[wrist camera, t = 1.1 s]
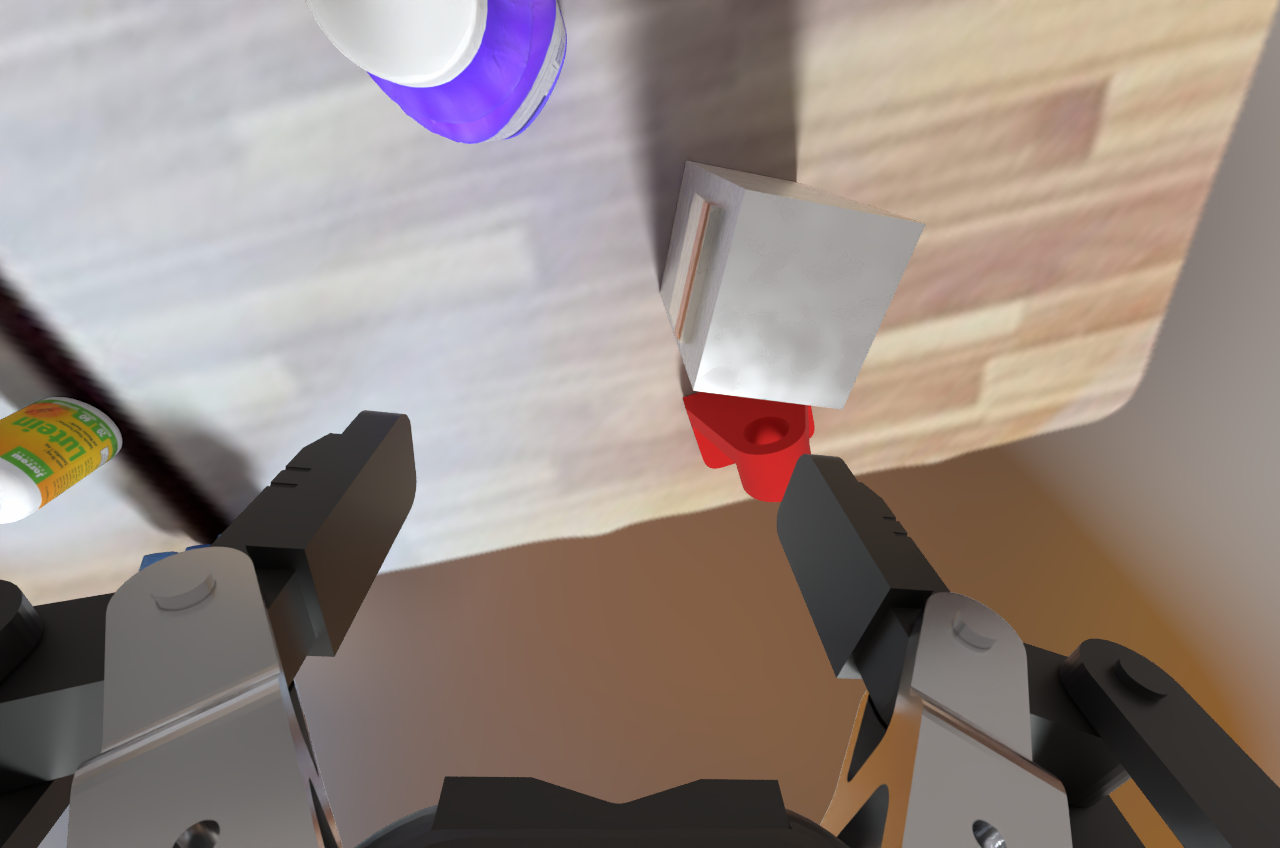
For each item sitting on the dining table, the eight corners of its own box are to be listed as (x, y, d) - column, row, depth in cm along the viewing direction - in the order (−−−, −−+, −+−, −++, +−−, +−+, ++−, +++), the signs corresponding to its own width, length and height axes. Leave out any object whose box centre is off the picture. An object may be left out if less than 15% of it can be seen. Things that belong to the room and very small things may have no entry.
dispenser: (652, 291, 33) (682, 389, 21) (677, 158, 29) (731, 186, 17) (763, 308, 34) (850, 410, 22) (803, 183, 30) (935, 225, 18)
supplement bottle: (138, 427, 36) (0, 520, 27) (109, 469, 37) (-30, 569, 29) (50, 379, 33) (-131, 465, 25) (23, 427, 35) (-155, 522, 27)
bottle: (490, -62, 23) (302, -368, 9) (589, 30, 25) (574, -90, 11) (424, 85, 26) (199, 43, 11) (518, 158, 28) (429, 200, 14)
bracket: (702, 455, 41) (729, 544, 32) (681, 393, 37) (705, 474, 29) (806, 423, 40) (862, 505, 31) (794, 356, 36) (852, 428, 28)
